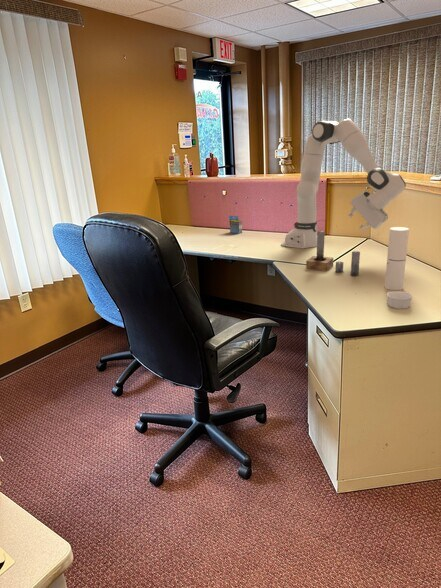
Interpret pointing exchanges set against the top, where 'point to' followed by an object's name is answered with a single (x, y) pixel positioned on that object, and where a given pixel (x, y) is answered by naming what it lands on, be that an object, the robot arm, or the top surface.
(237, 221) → the label tape cartridge
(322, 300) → the top surface
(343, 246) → the top surface
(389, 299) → the ramekin
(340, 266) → the short steel pin
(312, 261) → the walnut collar block
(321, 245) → the tall steel pin
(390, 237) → the cylindrical container
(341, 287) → the top surface
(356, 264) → the medium steel pin
